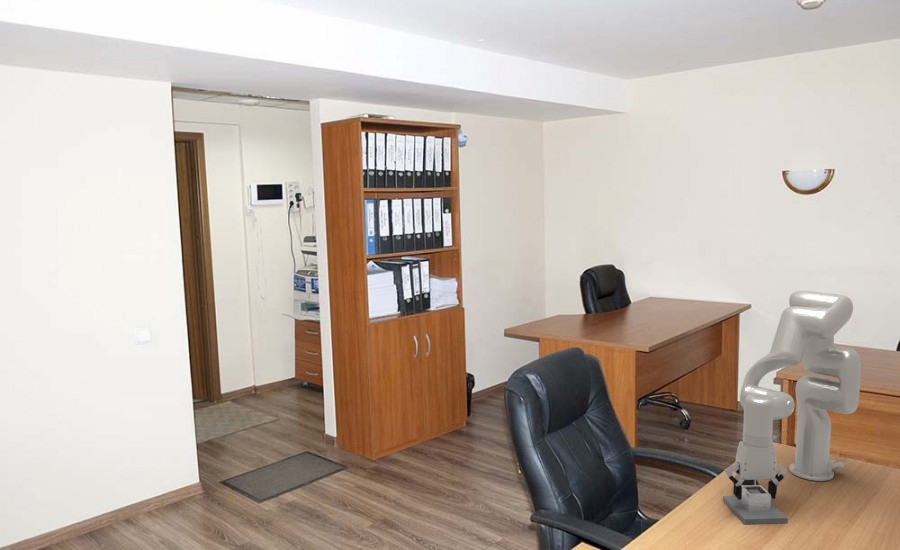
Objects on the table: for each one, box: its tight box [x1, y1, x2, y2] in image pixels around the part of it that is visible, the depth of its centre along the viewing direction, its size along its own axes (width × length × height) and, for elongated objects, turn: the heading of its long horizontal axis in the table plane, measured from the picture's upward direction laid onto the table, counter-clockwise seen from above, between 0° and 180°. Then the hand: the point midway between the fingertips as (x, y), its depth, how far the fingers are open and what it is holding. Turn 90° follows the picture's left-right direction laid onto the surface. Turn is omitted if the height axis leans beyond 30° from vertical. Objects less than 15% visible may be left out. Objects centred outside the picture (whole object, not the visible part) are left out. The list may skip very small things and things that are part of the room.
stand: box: [722, 490, 789, 525], centre depth 194 cm, size 12×14×6 cm
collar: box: [739, 484, 772, 512], centre depth 194 cm, size 6×6×5 cm
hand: (754, 497), depth 194 cm, fingers open, 9 cm apart
